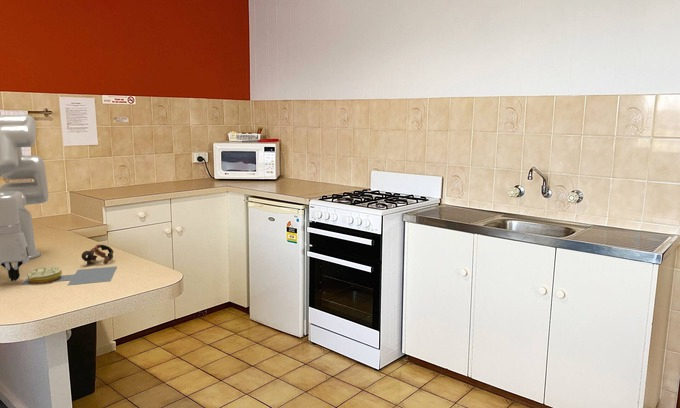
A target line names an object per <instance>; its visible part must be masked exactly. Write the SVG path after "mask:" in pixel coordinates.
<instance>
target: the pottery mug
mask: <svg viewBox="0 0 680 408" xmlns="http://www.w3.org/2000/svg"><path fill="white" fill-rule="evenodd" d="M100 249H101V250H100ZM104 251H107V252H108V253H106V252H104ZM106 254H107V255H106ZM98 256H99V257H101V258H103V259H104V260H103V264H104V265H107V264H109V262H110V261H112V260H113V258H114V250H113V249H112V248H111V247H110V246H108V245H105V244H96V245H95V246H94V247H92V248H91V249H90V250H85V251H83V252H82V254H81V259H82V260H83V262H86V264H87V265H88V264H91V263H92V261H96V260H97V258H98Z"/></svg>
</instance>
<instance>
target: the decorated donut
mask: <svg viewBox="0 0 680 408" xmlns="http://www.w3.org/2000/svg"><path fill="white" fill-rule="evenodd" d="M62 275H63V273H62V269H61V268H60V267H58V266H45V267H40V268H37V269H33V270H32V271H30V272H28V274H27V279H28V280H29V281H30V282H32V283H36V284H43V282H47V283H51V282H50V281H55V280H57V279H58V278H60V276H62Z"/></svg>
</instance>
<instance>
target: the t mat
mask: <svg viewBox="0 0 680 408" xmlns="http://www.w3.org/2000/svg"><path fill="white" fill-rule="evenodd" d="M117 268H118V266H117V265H116V266H105V267H95V268H82V269H81V268H80V269H78V270H76V272H75V273H74V274H65V275H63V274H61V276H60V278H58V279H57V280H55V281H50V282H49V283H56V282H66V281H69V282H68V283H67V286H73V285H74V286H75V285H85V284H94V283H96V284H97V283H104V282H105V283H106V282H111V281H112V279H113V277H114V275H115V272H116V270H117ZM43 283H45V284H46V282H43ZM43 283H42V284H43ZM34 284H37V283H32V282H30V281H29V280H28V278H26V279H25V280H24V281H23V282H22V283H21V285H22V286H24V285H34Z"/></svg>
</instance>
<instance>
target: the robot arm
mask: <svg viewBox="0 0 680 408" xmlns="http://www.w3.org/2000/svg"><path fill="white" fill-rule="evenodd" d="M36 139H37V123H36V120H35V118H34V117H33V116H32V115H28V114H12V115H11V114H5V115H4V114H3V115H2V114H0V177H2V178H3V179H5V180H10V181H11V180H12V181H13V180H33V181H17V182H8V183H4V184H2V185H1V186H0V267H3V268H4V269H5V270H6V271H7V274H8V279H9V280H10V282H17V280H19V278H20V267H21V266H22V265H24V264H27V263H28V264H29V262H30V260H32V259H34V258H35V259H36V258H38V257H41V256H40V255H41V251H40V250H37V249H36V242H35V232H34V226H33V217H32V214H31V212H30V211H29V210H28V209H27V208H26V206H27V205H38V204H44V203H47V201H49V188H48V187H49V186H48V180H47V179H48V178H47V173H46V172H47V171H46V166H45V161H44V159H43V158H42V157H41V156H39V155H23V151H22V148H31V147H33V146H34V145H35V143H36ZM12 263H13V264H12Z"/></svg>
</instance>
